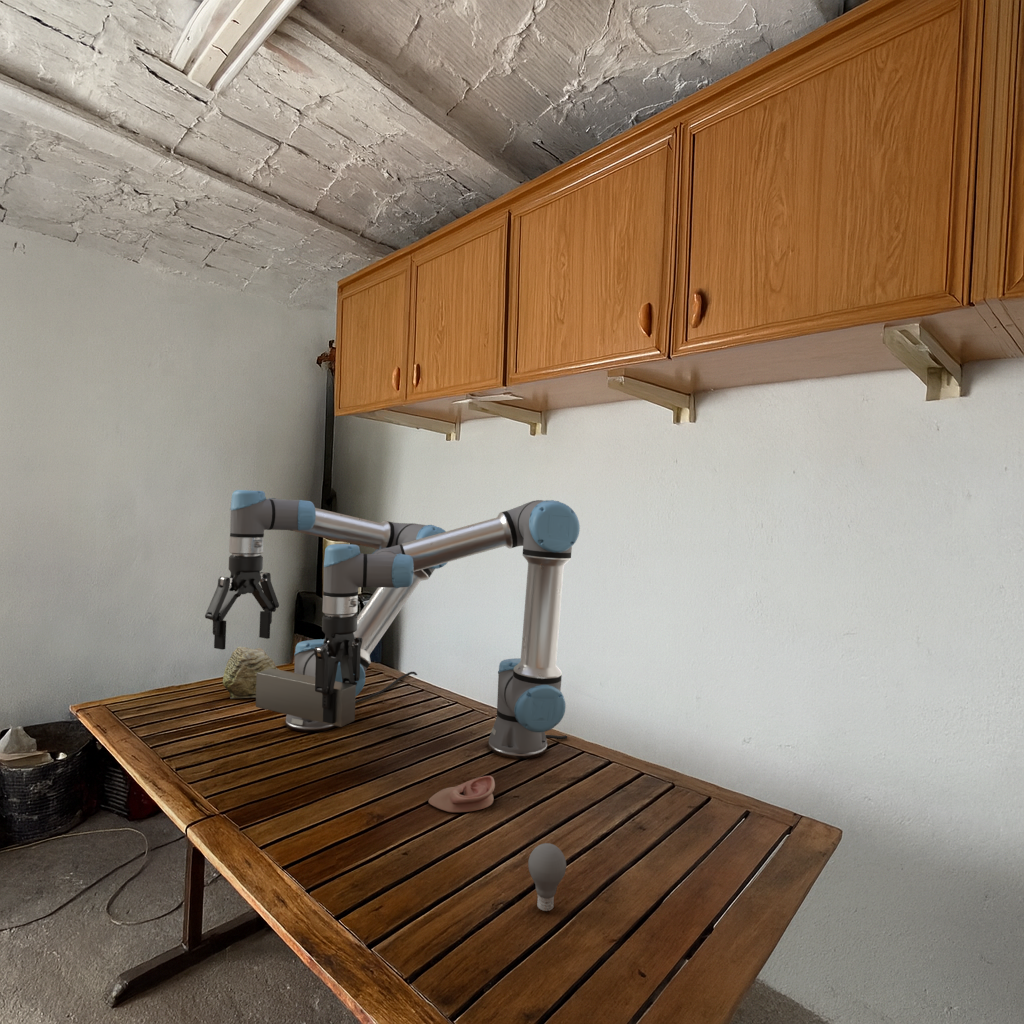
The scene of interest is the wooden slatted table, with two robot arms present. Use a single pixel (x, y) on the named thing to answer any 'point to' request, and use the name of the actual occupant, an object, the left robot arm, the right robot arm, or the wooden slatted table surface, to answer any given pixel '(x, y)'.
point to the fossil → (245, 671)
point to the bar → (302, 696)
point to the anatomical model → (465, 796)
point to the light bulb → (546, 873)
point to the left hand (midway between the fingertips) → (243, 643)
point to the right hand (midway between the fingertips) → (337, 718)
